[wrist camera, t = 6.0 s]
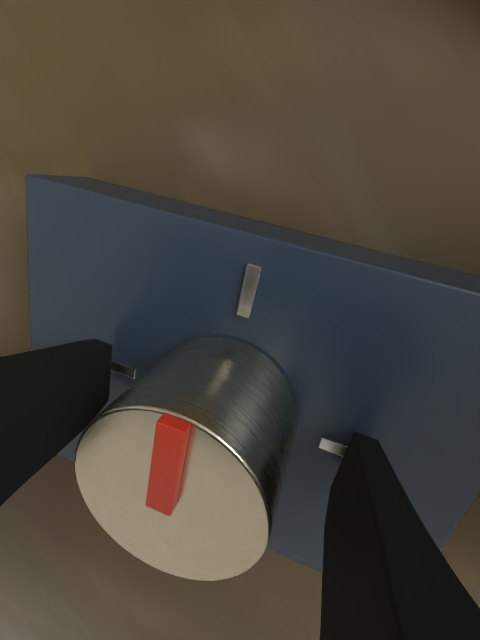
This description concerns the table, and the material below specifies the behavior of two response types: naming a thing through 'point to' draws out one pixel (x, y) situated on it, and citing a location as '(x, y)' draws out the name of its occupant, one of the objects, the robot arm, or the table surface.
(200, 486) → the dial
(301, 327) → the console
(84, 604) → the table surface
